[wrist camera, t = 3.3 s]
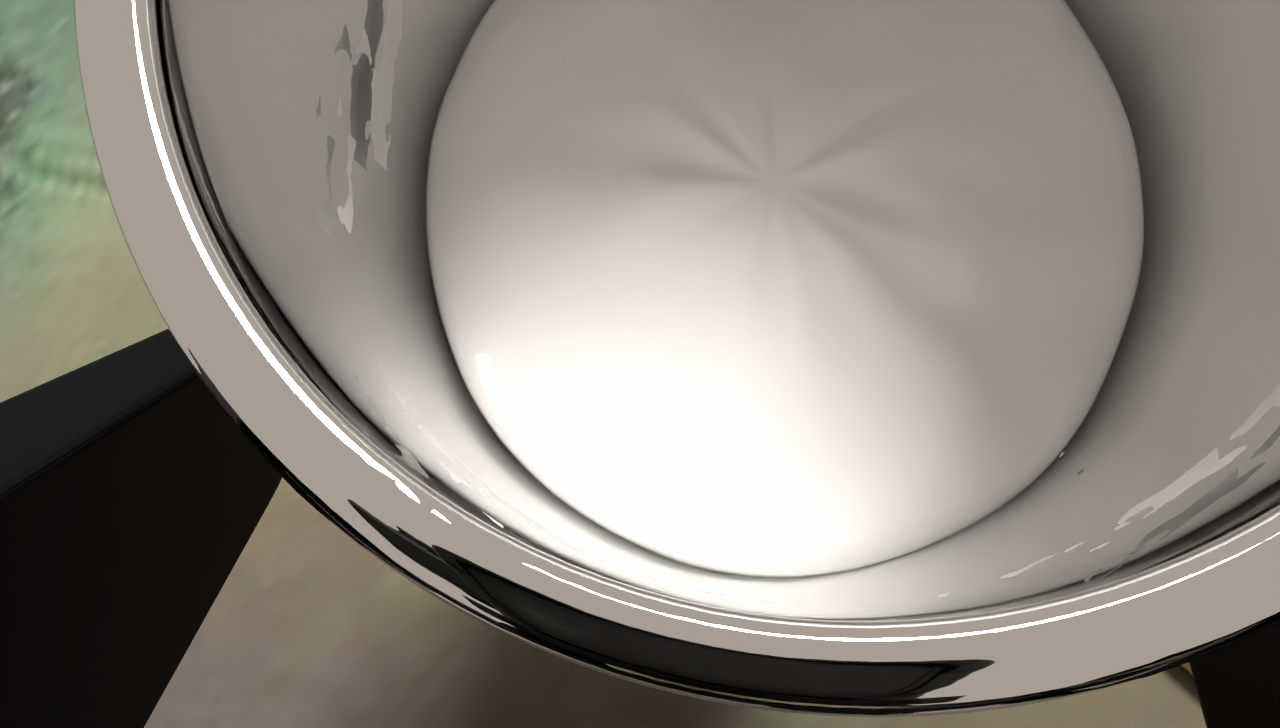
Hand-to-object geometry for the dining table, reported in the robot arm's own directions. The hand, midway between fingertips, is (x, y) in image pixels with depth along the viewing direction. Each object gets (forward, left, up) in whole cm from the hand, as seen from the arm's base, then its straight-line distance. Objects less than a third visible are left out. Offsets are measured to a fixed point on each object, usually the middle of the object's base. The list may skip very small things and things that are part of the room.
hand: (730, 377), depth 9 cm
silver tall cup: (+1, +1, -9) cm, 10 cm away
